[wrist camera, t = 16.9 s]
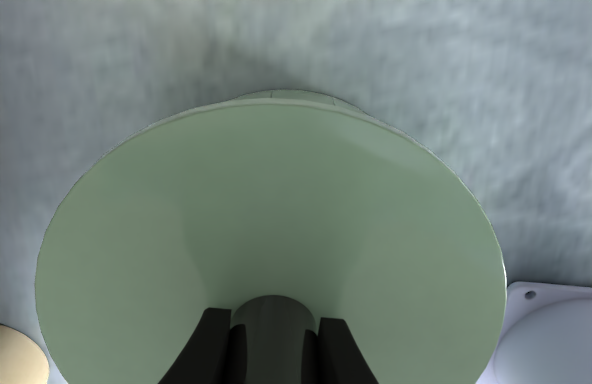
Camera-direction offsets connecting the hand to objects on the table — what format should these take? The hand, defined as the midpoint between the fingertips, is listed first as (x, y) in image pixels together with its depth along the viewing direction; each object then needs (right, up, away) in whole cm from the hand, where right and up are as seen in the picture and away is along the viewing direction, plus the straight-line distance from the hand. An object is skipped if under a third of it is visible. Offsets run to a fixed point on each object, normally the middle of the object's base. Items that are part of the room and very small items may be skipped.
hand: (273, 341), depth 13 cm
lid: (0, 0, +1) cm, 1 cm away
